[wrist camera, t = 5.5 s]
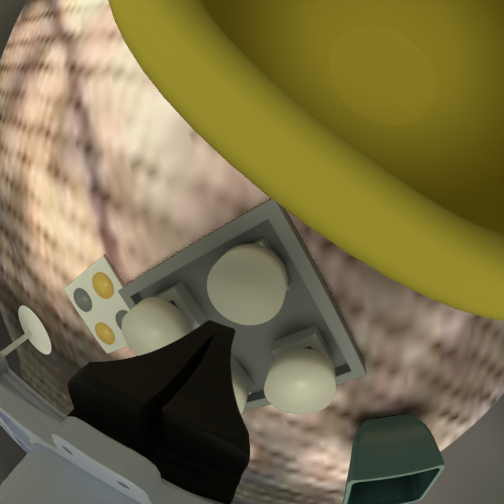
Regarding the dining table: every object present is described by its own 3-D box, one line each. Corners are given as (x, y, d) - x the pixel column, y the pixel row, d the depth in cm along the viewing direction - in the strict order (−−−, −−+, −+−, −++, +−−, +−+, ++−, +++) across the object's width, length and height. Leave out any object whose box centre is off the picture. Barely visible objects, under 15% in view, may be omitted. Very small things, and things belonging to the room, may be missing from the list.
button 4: (166, 347, 24) (148, 371, 21) (134, 301, 23) (110, 321, 20) (209, 331, 22) (193, 357, 19) (174, 279, 21) (151, 299, 18)
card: (108, 352, 29) (106, 354, 29) (65, 288, 28) (62, 289, 27) (156, 333, 26) (153, 335, 26) (105, 254, 25) (102, 256, 24)
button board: (218, 405, 28) (213, 417, 26) (127, 284, 25) (116, 292, 23) (364, 362, 22) (366, 376, 21) (277, 195, 20) (273, 198, 18)
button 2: (244, 310, 22) (233, 334, 19) (211, 256, 22) (192, 273, 18) (301, 285, 21) (298, 308, 17) (268, 225, 20) (258, 238, 17)
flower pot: (347, 408, 24) (347, 482, 16) (428, 396, 22) (447, 464, 14) (343, 451, 27) (340, 512, 19) (412, 442, 25) (421, 500, 16)
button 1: (289, 390, 22) (283, 420, 19) (260, 349, 22) (250, 378, 18) (344, 372, 21) (345, 403, 17) (319, 326, 20) (318, 356, 17)
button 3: (220, 398, 26) (209, 422, 23) (191, 363, 26) (177, 386, 22) (262, 387, 25) (254, 414, 21) (234, 349, 24) (222, 375, 21)
